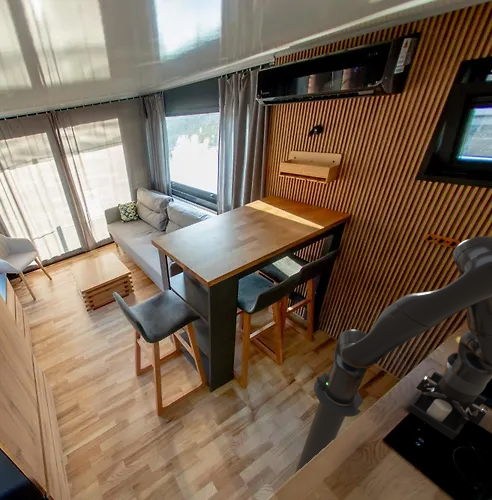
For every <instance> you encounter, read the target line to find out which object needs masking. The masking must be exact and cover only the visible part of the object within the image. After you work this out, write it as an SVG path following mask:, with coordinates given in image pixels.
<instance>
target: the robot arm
mask: <svg viewBox="0 0 492 500" xmlns="http://www.w3.org/2000/svg"><path fill="white" fill-rule="evenodd" d="M452 259H453V262H454V263H455V266H456V268H457V269H458V270H457V271H458V273H459V277H458V278H457V279H454V281H452V282H450V283H449V284H447V285H445V286H444V287H441V288H439V289H434V290H429V291H420V292H414V293H413V292H412V293H409V294H406V295H403V296H402V297H400V298H398V299H397V300H395V301H394V302H393V303H391V304H390V305H388V306H387V307H386V308H385V309H384V310H383V311H382V312H381V313H380V315H379V317H377V319H376V321H375V323H374V325H373V326H372V327H371V330H370V331H369V332H368V333H366V332H364V331H362V330H359V329H347V330H344V331H343V332H341V333H340V334H339V336H338V338H337V342H336V344H335V348H334V352H333V360H332V362H331V366H330V369H329V371H328V373H327V372H324V373H323V374H322V375H321V376H320V375H319V376H317V377H316V380H318V382H317V383H318V384H320V385H321V386H322V390H323V391H324V393H325V395H326V396H327V398H328V399H329V400H330V401H332V402H333V403H335V404H337V405H340V406H349V405H351V404H352V402H353V400H354V397H355V395H356V396H357V391H358V392H359V388H360V386H361V384H362V381H363V380H364V377H365V375H366V372H367V368H370V367H372V366H373V365H375V364H377V363H378V362H380V361H381V360H382V359H383V358H384V357H386V356H387V355H389V354H390V353H391V352H392V351H394V350H395V349H397V348H399V347H400V346H402V345H404V344H406V343H407V342H409V341H411V340H412V339H414V338H416V337H417V336H419V335H421V334H423V333H425V332H427V331H429V330H430V329H432V328H434V327H436V326H437V325H439V324H440V323H442V322H444V321H445V320H448V319H449V318H451V317H452V316H454V315H456V314H458V313H460V312H462V311H464V310H466V324H467V329H468V330H466V331H465V332H464V333H463V334H461V336H460V337H459V340H458V346H457V353H458V358H457V359H456V360H455V362H454V363H453V365H452V366H451V367H450V368H449V369H448V370H447V371H446V373H445V374H444V375H443V377H442V378H441V380H440V381H439V382H438V383H436V382H434V381H432V380H430V379H431V376H429V375H425V376H424V377H423V379H421V381H420V382H419V384H417V386H416V389H417V391H420V392H421V391H422V394H421V396H420V399H422V400H421V401H423V402H424V401H425V400H426V399H427V397H428V396H432V397H440V399H442V400H444V401H446V402H448V403H449V404H451V405H452V406H456V408H457V409H458V411H459V413H461V414H462V416H461V417H460V419H459V420H458V421H457V423H458V424H463V425H464V426H465V425H466V424H467V422H468V421H471V422H472V423H474V424H475V425H477V426H478V425H480V424H481V422H482V421H483V419H484V418H485V416H486V415H487V413H488V412H489V409H488V408H487V407H485V406H482V407H481V406H477V405H475V404H474V402H473V401H474V400H475V399H476V398H477V397H478V396H479V395H481V393H482V392H484V390H485V388H486V387H487V384H488V383H489V382H490V381H491V379H492V236H489V235H481V236H474V237H470V238H468V239H466V240H463V241H462V242H460V243H458V244H457V246H455V248H454V250H453V252H452ZM425 385H433V386H434V388H425ZM469 408H474V412H475V414H476V415H474V414H473V413H471V412H470V410H469Z"/></svg>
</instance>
